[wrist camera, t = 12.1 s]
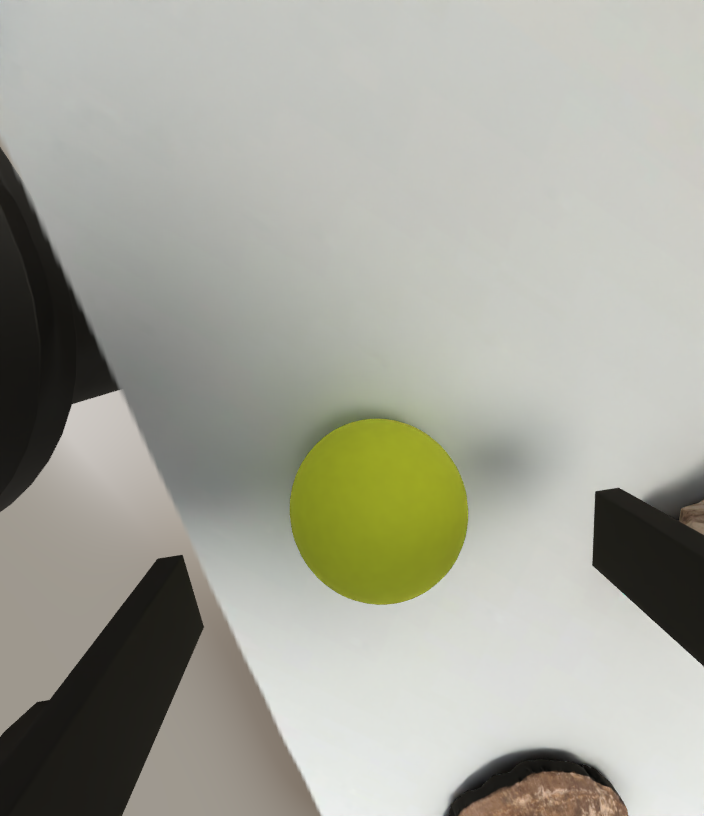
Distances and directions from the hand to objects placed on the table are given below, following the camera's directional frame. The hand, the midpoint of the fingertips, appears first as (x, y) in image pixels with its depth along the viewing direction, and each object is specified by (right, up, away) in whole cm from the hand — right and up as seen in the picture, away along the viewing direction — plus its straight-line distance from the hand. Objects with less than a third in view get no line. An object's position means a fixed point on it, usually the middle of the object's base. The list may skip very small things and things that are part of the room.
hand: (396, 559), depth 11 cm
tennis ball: (0, +1, +3) cm, 3 cm away
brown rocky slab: (+11, -24, +13) cm, 30 cm away
